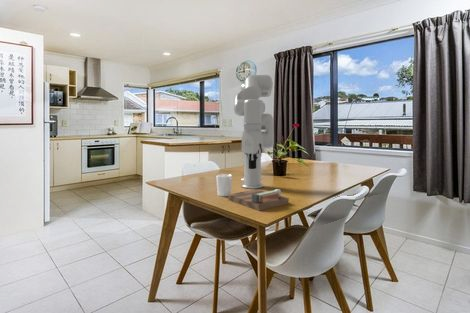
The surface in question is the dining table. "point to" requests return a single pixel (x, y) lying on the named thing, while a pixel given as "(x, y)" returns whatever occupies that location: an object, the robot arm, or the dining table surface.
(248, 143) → the robot arm
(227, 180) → the white cup
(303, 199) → the dining table surface
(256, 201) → the stool leg
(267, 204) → the stool seat
